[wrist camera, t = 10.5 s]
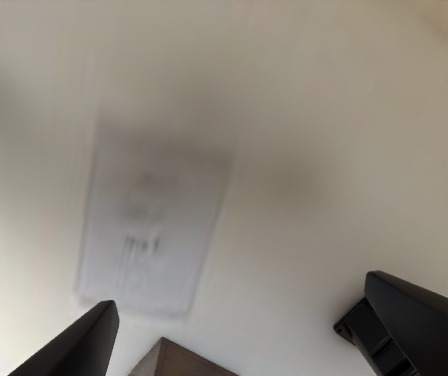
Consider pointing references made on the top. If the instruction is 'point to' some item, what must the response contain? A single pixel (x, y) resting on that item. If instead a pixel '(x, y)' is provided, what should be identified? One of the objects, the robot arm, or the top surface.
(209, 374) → the holder
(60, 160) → the top surface
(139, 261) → the top surface
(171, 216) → the top surface
